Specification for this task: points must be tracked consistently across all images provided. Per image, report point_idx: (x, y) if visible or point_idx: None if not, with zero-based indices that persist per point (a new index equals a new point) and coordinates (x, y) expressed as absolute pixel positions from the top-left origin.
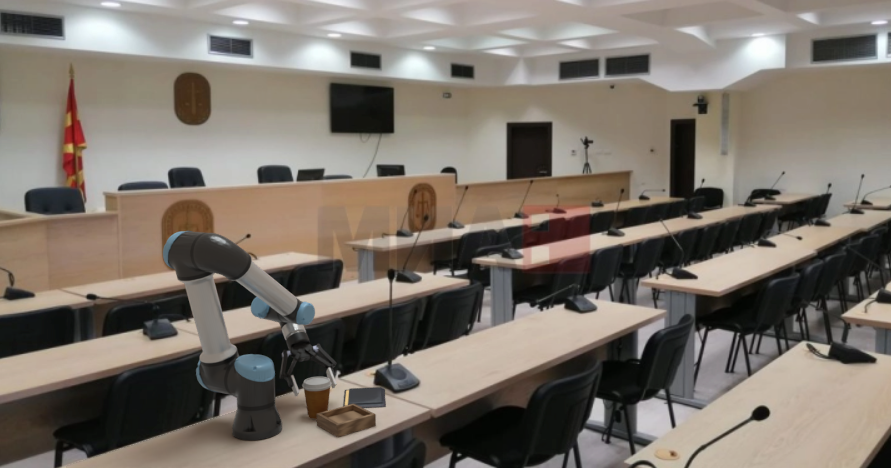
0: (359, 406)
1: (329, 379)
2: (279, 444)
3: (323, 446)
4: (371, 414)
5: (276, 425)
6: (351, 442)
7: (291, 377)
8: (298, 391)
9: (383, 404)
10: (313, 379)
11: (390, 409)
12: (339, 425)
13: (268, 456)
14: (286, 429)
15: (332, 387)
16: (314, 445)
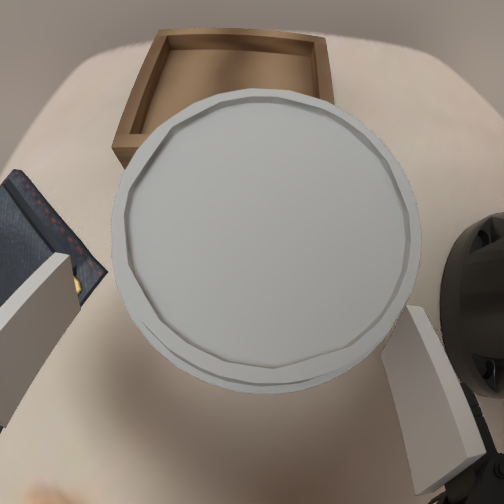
0: (127, 103)
1: (144, 145)
2: (477, 159)
3: (380, 62)
4: (170, 32)
5: (492, 217)
6: (303, 32)
7: (474, 441)
8: (414, 311)
9: (8, 176)
10: (254, 317)
11: (28, 139)
12: (317, 38)
13: (501, 129)
14: (435, 244)
15: (77, 306)
16: (399, 81)
